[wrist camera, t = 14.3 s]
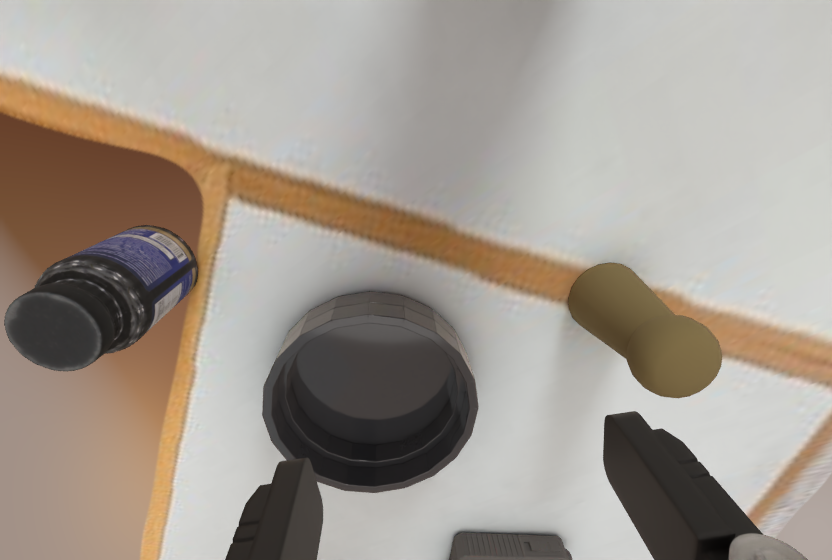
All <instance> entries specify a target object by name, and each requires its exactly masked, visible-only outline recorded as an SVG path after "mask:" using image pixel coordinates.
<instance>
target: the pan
mask: <svg viewBox="0 0 832 560" xmlns="http://www.w3.org/2000/svg"><path fill="white" fill-rule="evenodd" d="M477 412H478V399H477V391H476V383H475V379H474V375H473V372H472V369H471V366H470V363H469V359H468V356H467V353H466V351H465V349H464V347H463V345H462V343H461V341H460V339H459V338H458V336H457V334H456V332H455V330H454V329H453V327H452V326H451V325H449V324H448V323H447V322H446V321H445V320H444V319H443V318H442V317H441V316H439V315H438V314H437V313H436V312H435V311H434V310H433V309H431V308H430V307H427V306H425V305H423V304H421V303H419V302H416V301H414V300H412V299H410V298H407V297H405V296H402V295H395V294H387V293H379V292H370V291H369V292H363V293H357V294H351V295H345V296H339V297H336V298H334V299H332V300H330V301H328V302H326V303H324V304H322V305H320V306H318V307H316V308H314V309H312V310H310V311H309V312H308V313H307V314H306V315H305V316H304V317H303V318H302V319H301V320H300V321H299V322H298V323H297V324H296V325H295V326H294V327H293V328H292V329H291V330H290V331H289V332H288V334H287V337H286V339H285V341H284V343H283V345H282V347H281V349H280V352H279V354H278V356H277V358H276V360H275V362H274V365H273V367H272V369H271V371H270V373H269V375H268V378H267V380H266V382H265V384H264V388H263V411H262V415H263V418H264V421H265V424H266V427H267V430H268V433H269V435H270V438H271V441H272V443H273V444H274V445H275V446H276V448H277V449H278V450H279V451H280V453H281V454H282V455H283V456H284V457H285V459H286V460H294V459H301V458H309V459H310V461H311V464H312V468H313V471H314V474H315V478H316V481H317V482H320V483H323V484H326V485H329V486H332V487H335V488H338V489H341V490H344V491H355V492H369V493H378V492H384V491H390V490H396V489H402V488H405V487H409V486H411V485H413V484H416V483H418V482H420V481H423V480H425V479H427V478H430V477H432V476H434V475H435V474H436V473H438V472H439V471H440V470H441V469H443V468H444V467H445V466H446V465H448V464H449V463H450V462H451V461H453V460H454V459H455V458H456V457H457V456H458V454H459V453H460V451H461V450H462V448H463V447H464V445H465V444H466V442H467V441H468V439H469V438H470V436H471V434H472V431H473V427H474V423H475V419H476V416H477Z"/></svg>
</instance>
